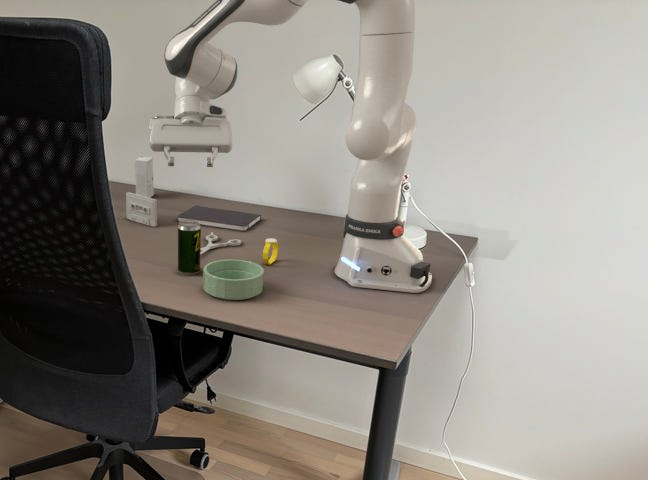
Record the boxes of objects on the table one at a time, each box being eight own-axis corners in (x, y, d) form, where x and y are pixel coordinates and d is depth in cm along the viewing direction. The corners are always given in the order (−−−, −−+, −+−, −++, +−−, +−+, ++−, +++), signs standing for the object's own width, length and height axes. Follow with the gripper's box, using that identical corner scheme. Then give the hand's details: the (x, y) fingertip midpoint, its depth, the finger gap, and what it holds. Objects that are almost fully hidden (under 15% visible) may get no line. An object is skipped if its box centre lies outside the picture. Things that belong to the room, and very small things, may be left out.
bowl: (271, 285, 170) (272, 265, 167) (249, 306, 159) (250, 284, 157) (217, 276, 175) (218, 255, 173) (193, 295, 164) (193, 273, 162)
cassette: (158, 226, 210) (158, 199, 206) (153, 227, 209) (153, 200, 205) (129, 217, 217) (129, 191, 213) (125, 218, 216) (124, 192, 212)
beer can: (175, 275, 175) (176, 225, 170) (179, 267, 180) (180, 219, 174) (198, 276, 174) (199, 227, 169) (201, 268, 179) (202, 220, 174)
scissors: (245, 239, 197) (206, 259, 182) (245, 241, 198) (206, 262, 183) (211, 232, 202) (170, 251, 187) (211, 235, 203) (170, 254, 188)
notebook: (260, 219, 216) (194, 210, 224) (261, 214, 215) (194, 205, 223) (245, 231, 206) (176, 221, 214) (245, 226, 205) (176, 216, 213)
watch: (270, 258, 186) (271, 235, 184) (280, 260, 185) (281, 237, 182) (259, 265, 182) (260, 242, 179) (269, 267, 180) (271, 244, 178)
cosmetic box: (148, 199, 235) (147, 161, 229) (135, 198, 236) (134, 160, 230) (154, 194, 240) (153, 157, 234) (141, 193, 241) (140, 156, 235)
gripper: (149, 107, 180) (146, 157, 176) (232, 109, 180) (232, 158, 176) (150, 123, 186) (148, 171, 182) (231, 125, 186) (231, 173, 182)
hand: (190, 165), depth 179 cm, fingers open, 8 cm apart
